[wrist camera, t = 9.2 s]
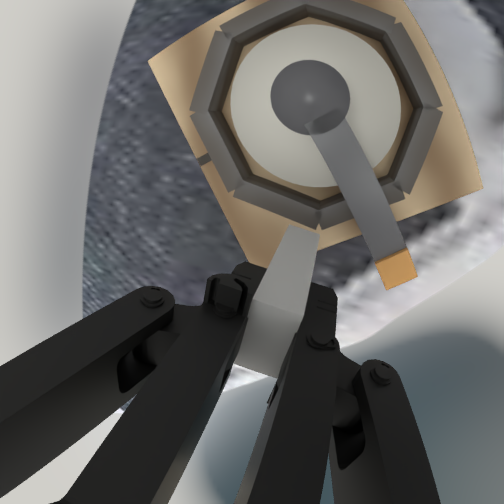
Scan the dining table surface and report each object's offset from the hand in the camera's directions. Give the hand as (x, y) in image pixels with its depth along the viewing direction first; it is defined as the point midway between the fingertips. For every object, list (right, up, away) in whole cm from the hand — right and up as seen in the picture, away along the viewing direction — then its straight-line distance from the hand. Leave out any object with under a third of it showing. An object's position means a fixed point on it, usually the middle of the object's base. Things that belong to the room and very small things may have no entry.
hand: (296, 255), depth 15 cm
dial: (+3, +7, +3) cm, 9 cm away
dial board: (+2, +10, +5) cm, 11 cm away
